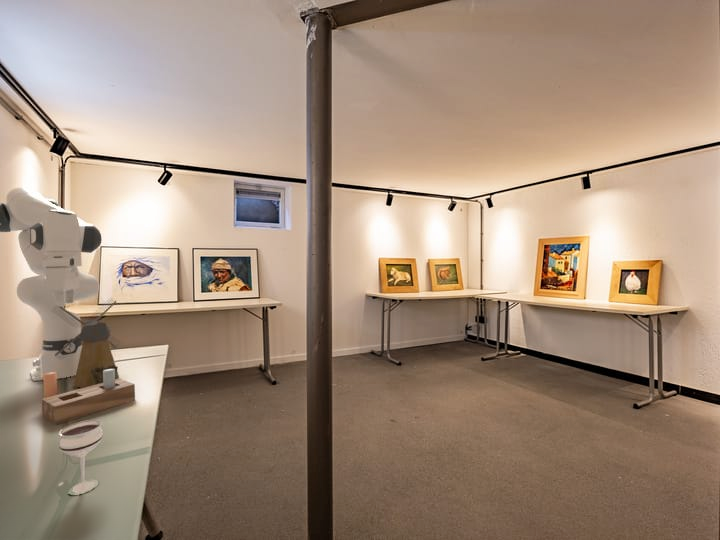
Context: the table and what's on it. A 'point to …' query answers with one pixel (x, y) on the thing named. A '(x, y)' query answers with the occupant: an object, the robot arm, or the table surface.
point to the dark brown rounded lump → (101, 374)
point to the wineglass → (81, 445)
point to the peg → (50, 384)
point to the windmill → (91, 348)
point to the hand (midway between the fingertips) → (65, 304)
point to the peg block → (86, 401)
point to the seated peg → (109, 378)
